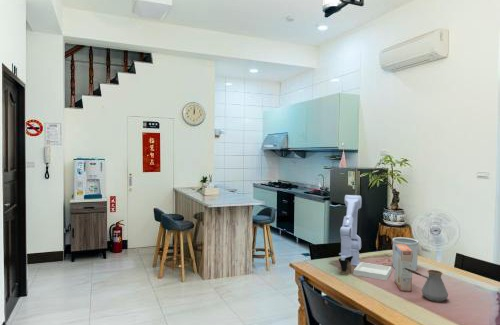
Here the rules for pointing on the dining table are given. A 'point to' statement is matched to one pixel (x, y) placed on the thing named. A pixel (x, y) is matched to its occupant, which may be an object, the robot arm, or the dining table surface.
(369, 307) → the dining table surface
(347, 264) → the walnut block
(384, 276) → the tray
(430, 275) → the coffee pot
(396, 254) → the cracker box
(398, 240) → the utensil holder
